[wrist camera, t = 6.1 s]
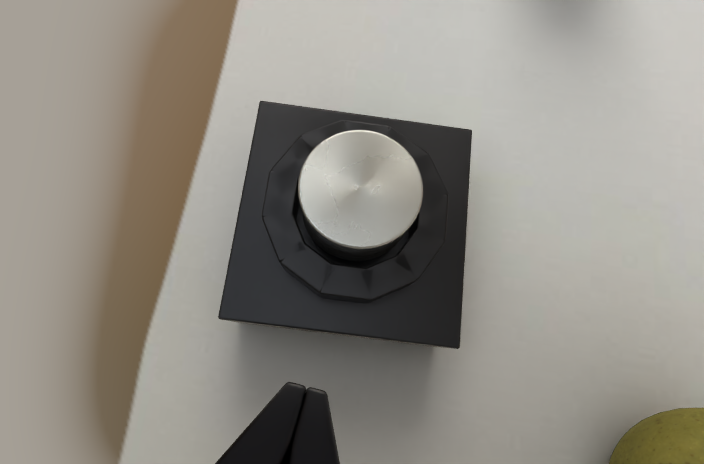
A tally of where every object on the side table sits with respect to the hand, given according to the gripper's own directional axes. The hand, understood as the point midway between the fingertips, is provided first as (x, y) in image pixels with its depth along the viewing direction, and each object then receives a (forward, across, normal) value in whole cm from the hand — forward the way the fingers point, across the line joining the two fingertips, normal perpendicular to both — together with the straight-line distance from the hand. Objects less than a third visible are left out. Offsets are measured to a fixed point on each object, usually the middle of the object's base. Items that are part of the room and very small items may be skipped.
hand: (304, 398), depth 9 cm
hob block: (+14, 0, +4) cm, 14 cm away
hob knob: (+10, 0, 0) cm, 10 cm away
